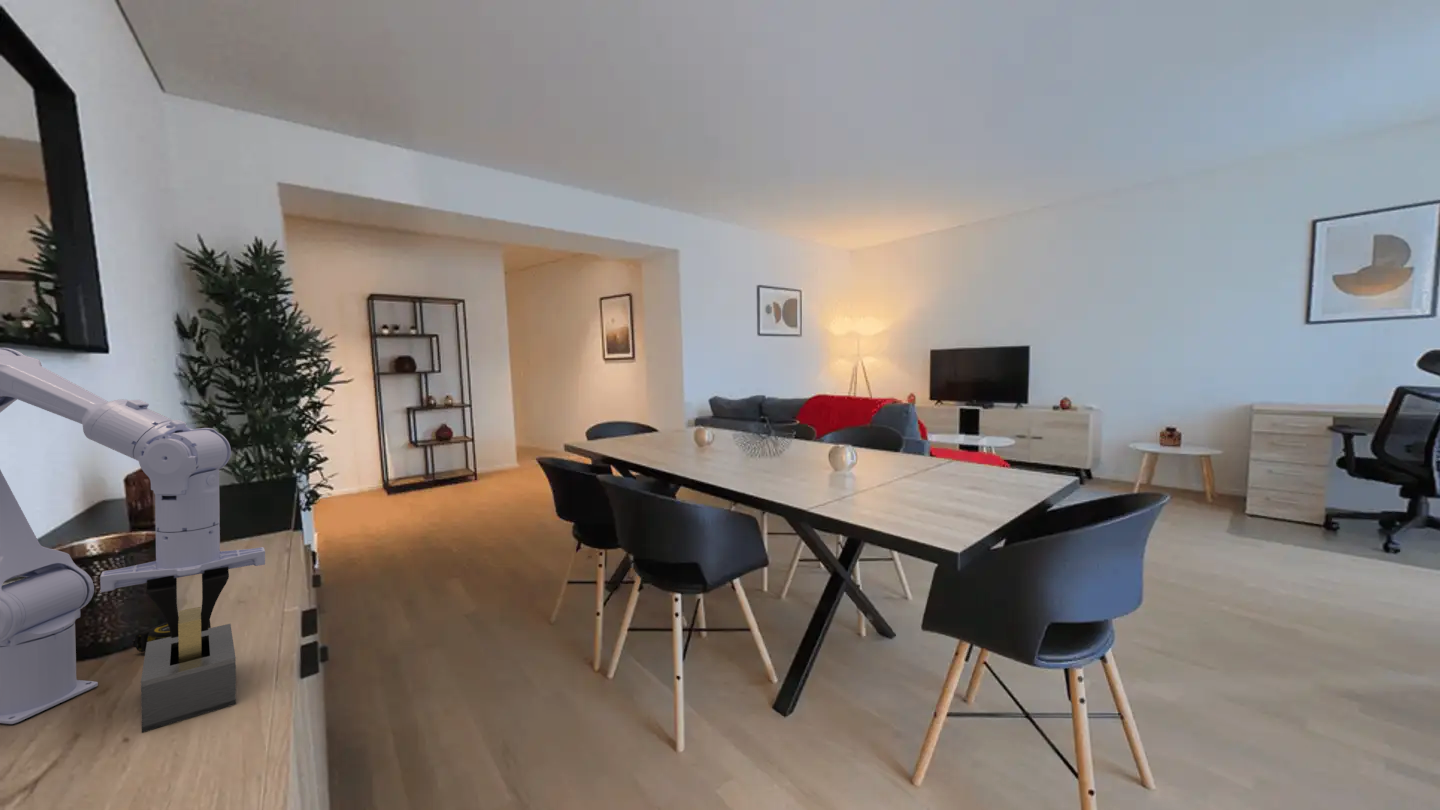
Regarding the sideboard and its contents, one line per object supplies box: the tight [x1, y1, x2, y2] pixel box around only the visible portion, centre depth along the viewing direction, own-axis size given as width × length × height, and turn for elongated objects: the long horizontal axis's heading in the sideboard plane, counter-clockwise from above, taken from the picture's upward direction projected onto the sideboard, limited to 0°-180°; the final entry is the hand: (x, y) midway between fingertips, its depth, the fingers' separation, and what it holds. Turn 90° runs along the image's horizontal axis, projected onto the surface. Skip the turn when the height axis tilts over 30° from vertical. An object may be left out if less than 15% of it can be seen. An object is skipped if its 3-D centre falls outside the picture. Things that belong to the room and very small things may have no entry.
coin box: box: [140, 623, 237, 733], centre depth 68 cm, size 12×8×6 cm, turn 45°
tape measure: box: [131, 620, 212, 653], centre depth 79 cm, size 7×7×4 cm
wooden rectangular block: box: [178, 606, 202, 663], centre depth 68 cm, size 5×2×5 cm, turn 45°
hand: (190, 631), depth 68 cm, fingers closed on wooden rectangular block, 2 cm apart
